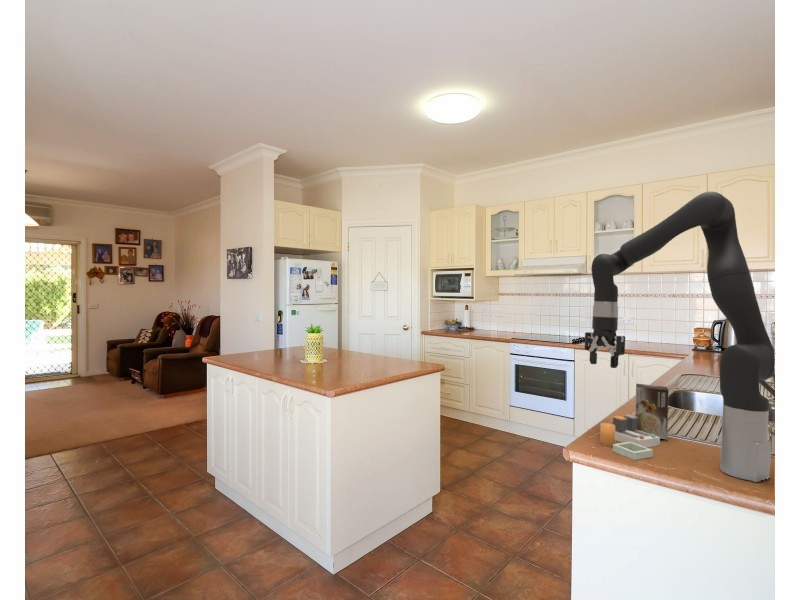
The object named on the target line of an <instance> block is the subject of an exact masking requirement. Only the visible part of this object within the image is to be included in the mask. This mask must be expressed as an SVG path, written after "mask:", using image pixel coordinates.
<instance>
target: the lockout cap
mask: <svg viewBox="0 0 800 600" xmlns="http://www.w3.org/2000/svg"><path fill="white" fill-rule="evenodd" d="M599 437H600V439H599V444H600V445H601V446H604V447H606V448H607V447H609V448H613V444H616V440H615V425H614V424H613V423H610V422H601V423H600V436H599Z"/></svg>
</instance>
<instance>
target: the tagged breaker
mask: <svg viewBox="0 0 800 600" xmlns="http://www.w3.org/2000/svg"><path fill="white" fill-rule="evenodd" d="M612 424H614V425H615V430H618V431H620V432H622V431H626V426H627V418H624V416H621V415H613V416H612Z"/></svg>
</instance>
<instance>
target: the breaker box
mask: <svg viewBox="0 0 800 600" xmlns="http://www.w3.org/2000/svg"><path fill="white" fill-rule="evenodd" d="M615 441H617V442H619V443H625V442H632V443H635V444H638V445H641V446H644V447H646V448H651V447H652V446H653V447H658V446H657V445H659V446H661V440H660V437H658V436H655V434H649V433H646V432H643V431H639V430H630V429H627V428H626V431H622V432H620V431H618V430H615Z"/></svg>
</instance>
